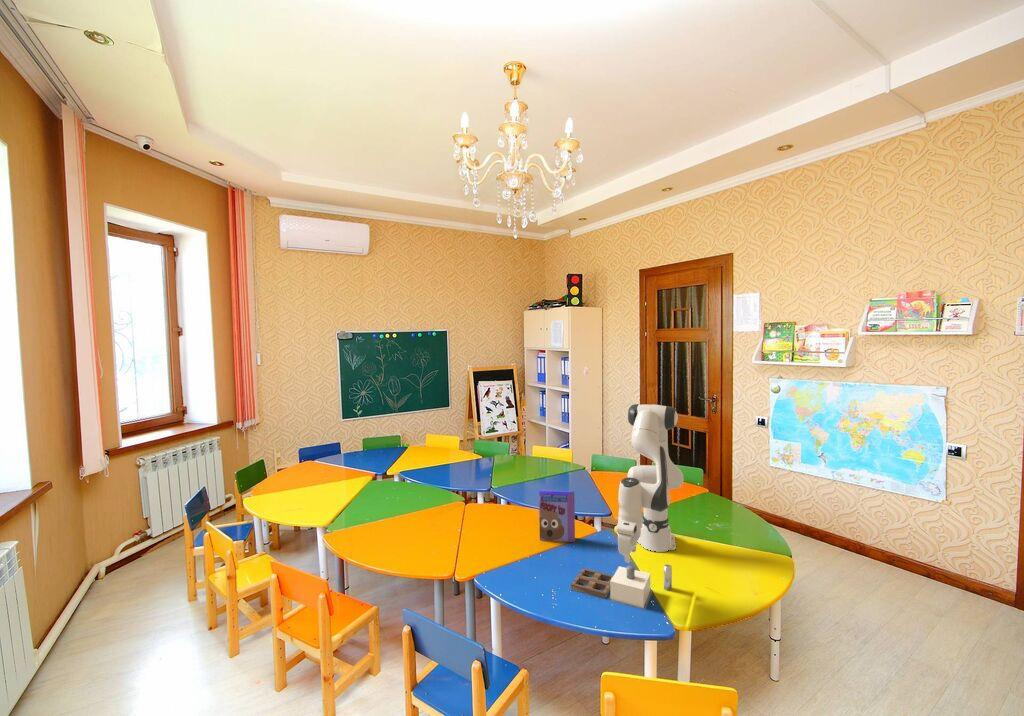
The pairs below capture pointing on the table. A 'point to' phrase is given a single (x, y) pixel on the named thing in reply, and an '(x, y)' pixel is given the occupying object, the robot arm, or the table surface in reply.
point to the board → (633, 605)
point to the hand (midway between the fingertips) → (630, 556)
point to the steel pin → (668, 577)
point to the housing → (630, 586)
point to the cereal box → (557, 516)
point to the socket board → (592, 583)
